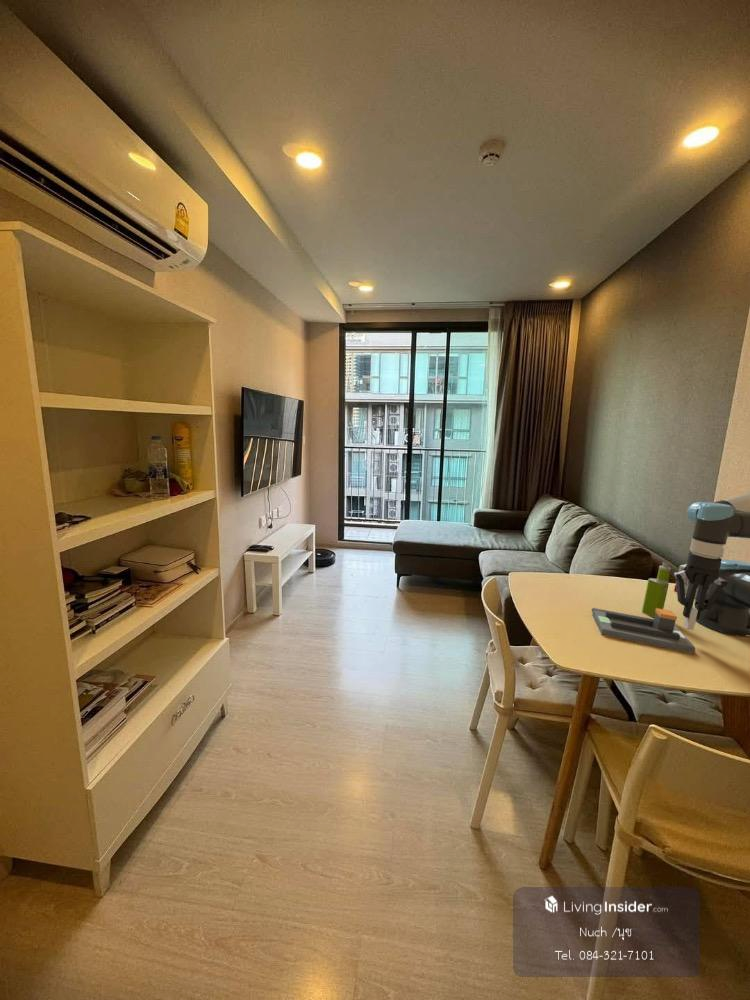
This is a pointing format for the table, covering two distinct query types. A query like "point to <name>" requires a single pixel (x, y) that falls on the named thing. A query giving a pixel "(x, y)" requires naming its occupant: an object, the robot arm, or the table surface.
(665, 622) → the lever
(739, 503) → the robot arm
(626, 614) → the grey twin rods
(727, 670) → the table surface
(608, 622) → the panel
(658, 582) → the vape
